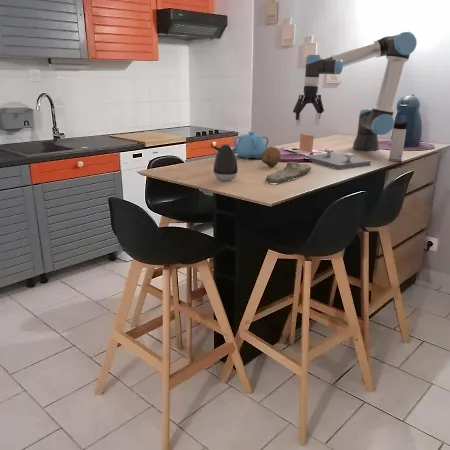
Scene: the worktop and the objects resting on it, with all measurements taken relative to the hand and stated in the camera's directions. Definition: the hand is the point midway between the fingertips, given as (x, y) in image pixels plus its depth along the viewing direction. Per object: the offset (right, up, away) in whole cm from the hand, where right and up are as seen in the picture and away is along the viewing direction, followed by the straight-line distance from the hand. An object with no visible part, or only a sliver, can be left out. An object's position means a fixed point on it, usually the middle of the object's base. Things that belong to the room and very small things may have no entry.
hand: (307, 125), depth 242 cm
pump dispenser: (-46, -36, -57) cm, 81 cm away
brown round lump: (-24, -28, -32) cm, 49 cm away
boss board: (+12, -23, -18) cm, 32 cm away
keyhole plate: (0, -14, +5) cm, 15 cm away
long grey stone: (-17, -34, -49) cm, 62 cm away
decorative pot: (-32, -20, -10) cm, 39 cm away
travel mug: (+45, -21, -11) cm, 51 cm away
